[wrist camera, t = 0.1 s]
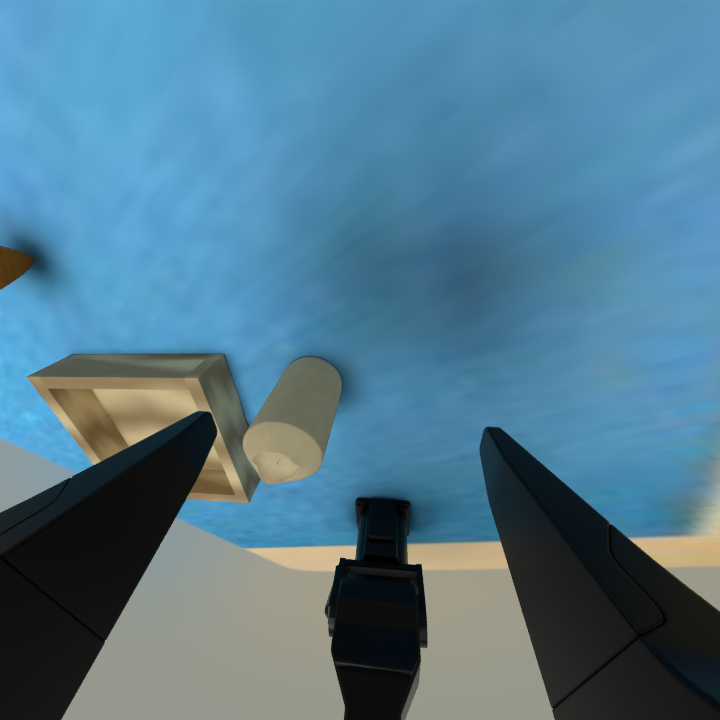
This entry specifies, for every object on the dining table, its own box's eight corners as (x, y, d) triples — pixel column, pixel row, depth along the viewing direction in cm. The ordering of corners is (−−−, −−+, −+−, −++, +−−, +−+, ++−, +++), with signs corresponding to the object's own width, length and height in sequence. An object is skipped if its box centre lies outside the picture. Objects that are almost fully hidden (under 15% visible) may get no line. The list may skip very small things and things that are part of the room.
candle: (323, 413, 28) (292, 508, 20) (275, 385, 27) (219, 473, 19) (354, 377, 26) (334, 468, 17) (302, 344, 25) (252, 424, 16)
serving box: (263, 471, 34) (249, 503, 30) (143, 465, 36) (116, 494, 32) (223, 353, 26) (197, 377, 23) (71, 354, 28) (26, 376, 25)
